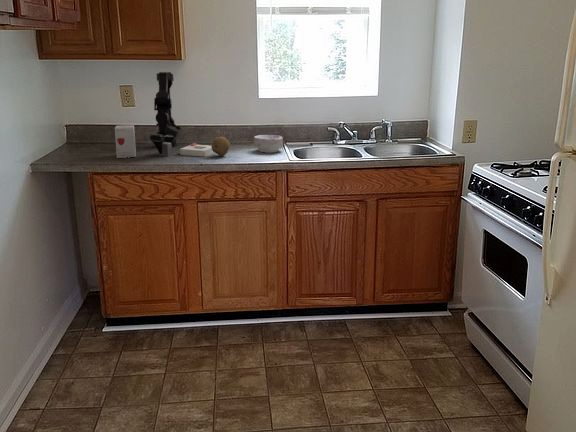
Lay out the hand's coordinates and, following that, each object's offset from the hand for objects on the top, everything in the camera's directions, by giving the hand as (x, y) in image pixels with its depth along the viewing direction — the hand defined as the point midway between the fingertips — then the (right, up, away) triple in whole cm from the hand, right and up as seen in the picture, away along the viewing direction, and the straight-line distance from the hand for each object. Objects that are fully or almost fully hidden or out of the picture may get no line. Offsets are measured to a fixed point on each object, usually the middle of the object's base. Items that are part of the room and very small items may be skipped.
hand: (165, 152), depth 281 cm
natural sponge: (+28, -2, 0) cm, 28 cm away
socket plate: (+16, 0, +7) cm, 17 cm away
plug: (0, -2, 0) cm, 2 cm away
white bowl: (+52, +2, +13) cm, 54 cm away
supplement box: (-19, -3, -3) cm, 19 cm away
